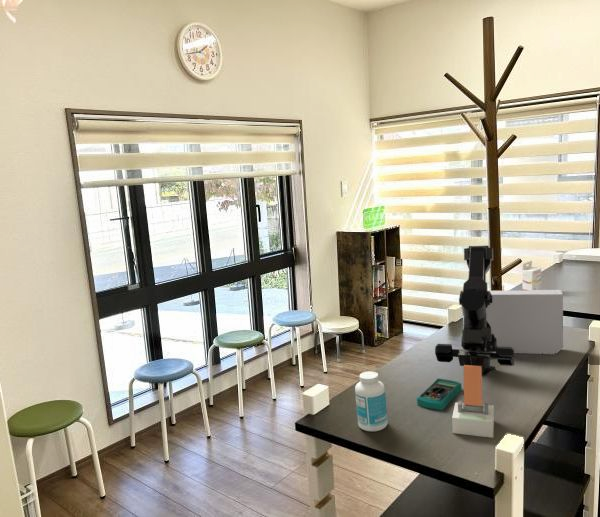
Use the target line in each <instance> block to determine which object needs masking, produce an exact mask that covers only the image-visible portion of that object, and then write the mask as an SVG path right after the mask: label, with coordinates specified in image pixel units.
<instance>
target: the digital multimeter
mask: <svg viewBox="0 0 600 517" xmlns="http://www.w3.org/2000/svg"><path fill="white" fill-rule="evenodd" d="M434 380H435V381H433V383H431V384H430V386H429V387H428V388H426V390H424V391H423V392H422V393H421V394H420V395H419V396H418V397H417V398H416V403H417V406H421V407H423V408H427V409H429V410H430V409H431V410H437V411H444V409H445V408H446V407H447V406H448V404H449V403H450V402H451V401H452V400H453V399H454V398H455V397H456V396H457V395H458V394H459V393H460V392H461V391H462V389H463V388H462V382H459V381H456V380H452V379H446V378H440V377H439V378H437V379H434Z"/></svg>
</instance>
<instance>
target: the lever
mask: <svg viewBox="0 0 600 517" xmlns="http://www.w3.org/2000/svg"><path fill="white" fill-rule="evenodd" d="M482 377H483V375H482V369H481V366H470V365H464V366H463V403H464V404H463V411H472V412H483V406H482V405H483V384H482V381H483V379H482Z"/></svg>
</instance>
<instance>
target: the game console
mask: <svg viewBox="0 0 600 517" xmlns="http://www.w3.org/2000/svg"><path fill="white" fill-rule="evenodd" d="M489 291H490V293H491V294H492V295H493V301H492V303H490V305H488V307H487V308H486V314H487V317H486V320H487V322H488V323H489V325H490V326H491V330H492V334H494V336H495V338H496V339H497V346H501V347H512V348H513V349H514V354H531V355H532V354H533V355H535V354H536V355H537V354H538V355H549V354H548V353H556V354H558V353H559V352H560V351H561V350H562V349H563V348H564V293H563V292H562V290H561V289H541V290H527V291H523V290H489ZM542 353H543V354H542Z"/></svg>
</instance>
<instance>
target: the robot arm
mask: <svg viewBox="0 0 600 517" xmlns="http://www.w3.org/2000/svg"><path fill="white" fill-rule="evenodd" d="M463 260H464V261H466V264H467V265H466V266H467V268H468V277H467V278H468V279H467V280H466V281H465V282H464V283H463V287H462V290H460V291H459V292H460V293H459V296H458V297H459V298H458V304H459V305H460V306H461V311H462V316H463V328H462V330H461V342H460V343H461V348H457V349H456V348H453V345H452V344H450V343H437V344H436V345H435V348H434V354H435V356H436V360H437V362H439V363H451V362H453V360H454V358H458V363H459V366H461V367H464V365H470V366H481V369H482V376H487V375H488V374H490V373H491V372H492V371H494V370H496V367H495V366H493V365H491V360H497V364H499V365H500V366H506V367H508V366H509V367H513V366H515V353H514V349H513V348H512V347H501V346H497V339H496V338H495V336H494V334H492V330H491V326H490V325H489V323H488V322H487V320H486V317H487V314H486V308H487V307H488V305H490V303H492V301H493V295H492V294H491V293H490V291H491V290H488V283H487V276H486V275H487V273H488V272H489V270H490V269H491V267H492V261H494V248H493V247H489V245H488V244H487V245H468V247H465V248H463Z"/></svg>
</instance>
